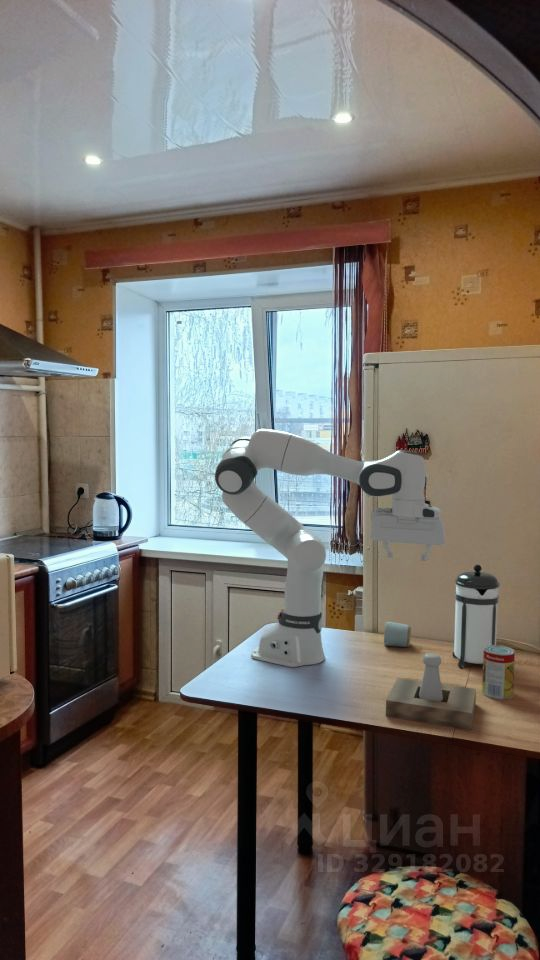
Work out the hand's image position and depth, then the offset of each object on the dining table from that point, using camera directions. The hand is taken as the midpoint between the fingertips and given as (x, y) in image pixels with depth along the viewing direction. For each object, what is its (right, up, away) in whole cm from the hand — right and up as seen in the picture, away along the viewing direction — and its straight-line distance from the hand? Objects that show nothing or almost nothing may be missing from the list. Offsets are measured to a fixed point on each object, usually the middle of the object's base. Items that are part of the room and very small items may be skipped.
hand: (406, 558), depth 184 cm
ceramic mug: (+4, -32, +33) cm, 47 cm away
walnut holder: (+2, -36, -18) cm, 40 cm away
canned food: (+23, -35, -7) cm, 42 cm away
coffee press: (+24, -34, +18) cm, 45 cm away
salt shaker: (+2, -35, -18) cm, 39 cm away
